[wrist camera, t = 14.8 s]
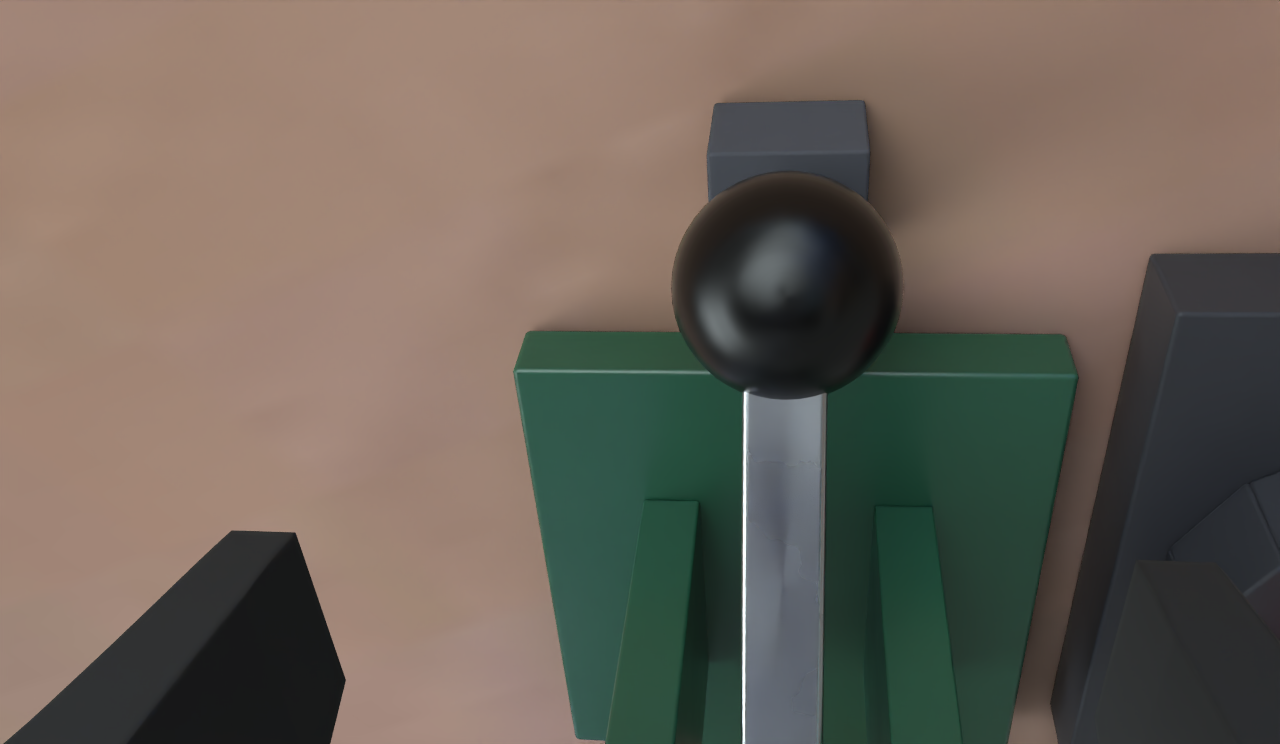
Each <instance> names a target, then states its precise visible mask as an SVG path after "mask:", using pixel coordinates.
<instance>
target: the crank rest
mask: <svg viewBox="0 0 1280 744" xmlns="http://www.w3.org/2000/svg"><path fill="white" fill-rule="evenodd" d="M869 170H870V144H869V135H868V125H867V115H866V105H865V102H864V101H862V100H848V101H800V102H751V103H717V104H715V106H714V109H713V116H712V123H711V130H710V137H709V143H708V150H707V174H708V199H709V202H710V201H711V200H712V199H713V198H714V197H715V196H716V195H718V194H719V193H721V192H722V191H724V190H725V189H727V188H728V187H730V186H732V185H734V184H736V183H738V182H739V181H741V180H744V179H747V178H750V177H752V176H755V175H759V174H763V173H768V172H774V171H803V172H809V173H814V174H819V175H822V176H825V177H828V178H831V179H833V180H835V181H837V182H839V183H842V184H844V185H846V186H847V187H849V188H850V189H852V190H853V191H855V192H856V193H858V194H859V195H860V196H861V197H863V198H864V199H865V200H866V201H867V202H868V189H869Z"/></svg>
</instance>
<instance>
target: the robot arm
mask: <svg viewBox="0 0 1280 744" xmlns="http://www.w3.org/2000/svg"><path fill="white" fill-rule="evenodd" d="M345 681H346V679H345V676H344V673H343V671H342V668H341V665H340V662H339V659H338V656H337V653H336V650H335V647H334V644H333V641H332V638H331V635H330V632H329V630H328V627H327V624H326V621H325V618H324V615H323V612H322V609H321V606H320V603H319V600H318V597H317V594H316V591H315V588H314V586H313V583H312V580H311V577H310V574H309V571H308V568H307V565H306V562H305V559H304V556H303V553H302V550H301V547H300V544H299V542H298V539H297V536H296V533H291V532H260V531H231V532H230V533H228V534H227V535H226V536H225V537H224V538H223V539H222V540H221V541H220V542H219V543H218V544H216V545H215V546H214V547H213V548H212V549H211V550H210V551H209V552H208V553H207V554H206V555H205V556H204V557H203V558H201V559H200V560H199V561H198V562H197V563H196V564H195V565H194V566H193V567H192V568H191V569H190V570H189V571H188V572H187V573H186V574H185V575H184V576H183V577H182V578H181V579H180V580H178V581H177V582H176V583H175V584H174V585H173V586H172V587H171V588H170V589H169V590H168V591H167V592H166V593H165V594H164V595H163V596H162V597H161V598H160V599H159V600H158V601H157V602H156V603H155V604H154V605H153V606H152V607H150V608H149V609H148V610H147V611H146V612H145V613H144V614H143V615H142V616H141V617H140V618H139V619H138V620H137V621H136V622H135V623H134V624H133V625H132V626H131V627H130V628H129V629H128V630H126V631H125V632H124V633H123V634H122V635H121V636H120V637H119V638H118V639H117V640H116V641H115V642H114V643H113V644H112V645H111V646H110V647H109V648H108V649H106V650H105V651H104V652H103V653H102V654H101V655H100V656H99V657H98V658H97V659H96V660H95V661H94V662H93V663H92V664H90V665H89V666H88V667H87V668H86V669H85V670H84V671H83V672H82V673H81V674H80V675H79V676H78V677H77V678H75V679H74V680H73V681H72V682H71V683H70V684H69V685H68V686H67V687H66V688H65V689H64V690H63V691H62V692H60V693H59V694H58V695H57V696H56V697H55V698H54V699H53V700H52V701H51V702H50V703H49V704H48V705H47V706H45V707H44V708H43V709H42V710H41V711H40V712H39V713H38V714H37V715H36V716H35V717H34V718H32V719H31V720H30V721H29V722H28V723H27V724H26V725H24V726H23V727H22V728H21V729H20V730H19V731H18V732H16V733H15V734H14V735H13V736H12V737H11V738H9V739H8V740H7V741H6V742H5V743H4V744H330V742H331V738H332V734H333V730H334V726H335V722H336V718H337V714H338V710H339V706H340V702H341V697H342V693H343V689H344V685H345ZM1094 718H1095V725H1096V732H1097V739H1098V744H1280V640H1279V639H1278V638H1277V637H1276V635H1275V634H1274V633H1273V632H1272V630H1271V629H1270V628H1269V627H1268V625H1267V624H1266V623H1265V622H1264V620H1263V619H1262V618H1261V617H1260V615H1259V614H1258V613H1257V612H1256V610H1255V609H1254V608H1253V607H1252V605H1251V604H1250V603H1249V601H1248V600H1247V599H1246V598H1245V596H1244V595H1243V594H1242V593H1241V591H1240V590H1239V589H1238V588H1237V586H1236V585H1235V584H1234V583H1233V581H1232V580H1231V579H1230V578H1229V576H1228V575H1227V574H1226V573H1225V572H1224V571H1223V570H1222V569H1221V568H1220V567H1219V566H1218V565H1217V564H1216V563H1215V562H1188V561H1157V560H1136V563H1135V566H1134V570H1133V574H1132V578H1131V581H1130V585H1129V589H1128V593H1127V596H1126V600H1125V604H1124V608H1123V611H1122V615H1121V619H1120V623H1119V626H1118V630H1117V634H1116V638H1115V641H1114V645H1113V649H1112V653H1111V656H1110V660H1109V664H1108V668H1107V671H1106V675H1105V679H1104V683H1103V686H1102V690H1101V694H1100V698H1099V701H1098V705H1097V709H1096V713H1095V716H1094Z"/></svg>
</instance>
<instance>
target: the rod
mask: <svg viewBox="0 0 1280 744" xmlns="http://www.w3.org/2000/svg"><path fill="white" fill-rule="evenodd" d="M903 291H904V283H903V270H902V264H901V259H900V255H899V252H898V249H897V246H896V243H895V241H894V238H893V236H892V234H891V232H890V230H889V228H888V227H887V225H886V224H885V222H884V221H883V219H882V218H881V216H880V215H879V214H878V213H877V211H876V210H875V209H874V208H873V207H872V206H871V204H869V203H868V202H867V201H866V200H865V199H864V198H863V197H861V196H860V195H859V194H858V193H856V192H855V191H853V190H852V189H850V188H849V187H847V186H846V185H844V184H842V183H839V182H837V181H835V180H833V179H831V178H828V177H825V176H822V175H819V174H814V173H809V172H803V171H774V172H768V173H763V174H759V175H755V176H752V177H750V178H747V179H744V180H741V181H739V182H738V183H736V184H734V185H732V186H730V187H728V188H727V189H725V190H724V191H722V192H721V193H719V194H718V195H716V196H715V197H714V198H713V199H712V200H711V201H710V202H709V203H707V204H706V205H705V206H704V207H703V209H702V210H701V211H700V212H699V213H698V214H697V216H696V217H695V218H694V220H693V221H692V223H691V224H690V226H689V227H688V229H687V230H686V232H685V234H684V236H683V238H682V240H681V243H680V245H679V248H678V251H677V254H676V257H675V261H674V266H673V271H672V284H671V292H672V304H673V309H674V314H675V318H676V321H677V324H678V327H679V330H680V332H681V334H682V336H683V338H684V340H685V342H686V344H687V346H688V347H689V349H690V350H691V352H692V353H693V355H694V356H695V358H696V359H697V360H698V361H699V362H700V363H701V364H702V366H703V367H704V368H705V369H706V370H707V371H709V372H710V373H711V374H712V375H713V376H714V377H715V378H717V379H718V380H720V381H721V382H723V383H724V384H726V385H727V386H729V387H731V388H733V389H735V390H737V391H739V392H741V393H742V543H741V744H823V706H824V637H825V569H826V501H827V433H828V394H830V393H832V392H834V391H836V390H838V389H840V388H843V387H844V386H846V385H847V384H849V383H851V382H852V381H854V380H855V379H857V378H858V377H859V376H860V375H861V374H863V373H864V372H865V371H866V370H867V369H868V368H869V367H870V366H871V365H872V364H873V363H874V362H875V361H876V360H877V359H878V357H879V356H880V354H881V353H882V352H883V350H884V349H885V347H886V346H887V344H888V342H889V340H890V339H891V337H892V335H893V333H894V330H895V328H896V325H897V322H898V320H899V316H900V312H901V307H902V302H903Z"/></svg>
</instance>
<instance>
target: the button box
mask: <svg viewBox="0 0 1280 744" xmlns="http://www.w3.org/2000/svg"><path fill="white" fill-rule="evenodd" d="M1136 560H1157V561H1188V562H1215V563H1216V564H1217V565H1218V566H1219V567H1220V568H1221V569H1222V570H1223V571H1224V572H1225V573H1226V574H1227V575H1228V576H1229V578H1230V579H1231V580H1232V581H1233V583H1234V584H1235V585H1236V586H1237V588H1238V589H1239V590H1240V591H1241V593H1242V594H1243V595H1244V596H1245V598H1246V599H1247V600H1248V601H1249V603H1250V604H1251V605H1252V607H1253V608H1254V609H1255V610H1256V612H1257V613H1258V614H1259V615H1260V617H1261V618H1262V619H1263V620H1264V622H1265V623H1266V624H1267V625H1268V627H1269V628H1270V629H1271V630H1272V632H1273V633H1274V634H1275V635H1276V637H1277V638H1278V639H1279V640H1280V253H1255V254H1152V255H1151V256H1150V258H1149V263H1148V267H1147V272H1146V276H1145V281H1144V285H1143V290H1142V294H1141V299H1140V303H1139V308H1138V312H1137V317H1136V321H1135V326H1134V330H1133V335H1132V339H1131V344H1130V348H1129V352H1128V357H1127V361H1126V366H1125V370H1124V375H1123V379H1122V384H1121V388H1120V393H1119V397H1118V402H1117V406H1116V411H1115V415H1114V420H1113V424H1112V429H1111V433H1110V438H1109V442H1108V447H1107V451H1106V456H1105V460H1104V465H1103V469H1102V474H1101V478H1100V483H1099V487H1098V492H1097V496H1096V501H1095V505H1094V509H1093V514H1092V518H1091V523H1090V527H1089V532H1088V536H1087V541H1086V545H1085V550H1084V554H1083V559H1082V563H1081V568H1080V572H1079V577H1078V581H1077V586H1076V590H1075V595H1074V599H1073V604H1072V608H1071V613H1070V617H1069V622H1068V626H1067V631H1066V635H1065V640H1064V644H1063V649H1062V653H1061V658H1060V662H1059V666H1058V671H1057V675H1056V680H1055V684H1054V689H1053V693H1052V698H1051V702H1050V705H1051V710H1052V715H1053V720H1054V725H1055V729H1056V734H1057V739H1058V744H1098V739H1097V732H1096V725H1095V718H1094V716H1095V713H1096V709H1097V705H1098V701H1099V698H1100V694H1101V690H1102V686H1103V683H1104V679H1105V675H1106V671H1107V668H1108V664H1109V660H1110V656H1111V653H1112V649H1113V645H1114V641H1115V638H1116V634H1117V630H1118V626H1119V623H1120V619H1121V615H1122V611H1123V608H1124V604H1125V600H1126V596H1127V593H1128V589H1129V585H1130V581H1131V578H1132V574H1133V570H1134V566H1135V563H1136Z"/></svg>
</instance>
